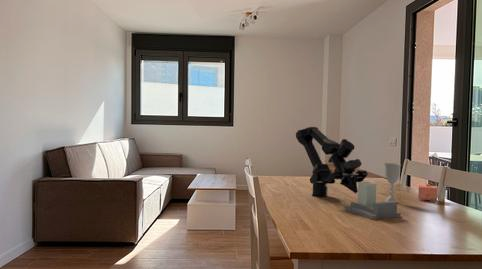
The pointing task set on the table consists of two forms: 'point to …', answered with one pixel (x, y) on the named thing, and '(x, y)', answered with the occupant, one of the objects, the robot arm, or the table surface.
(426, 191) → the pink cube teapot
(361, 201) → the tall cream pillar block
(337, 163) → the robot arm
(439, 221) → the table surface
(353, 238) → the table surface
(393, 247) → the table surface
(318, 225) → the table surface
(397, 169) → the chalice
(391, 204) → the track
